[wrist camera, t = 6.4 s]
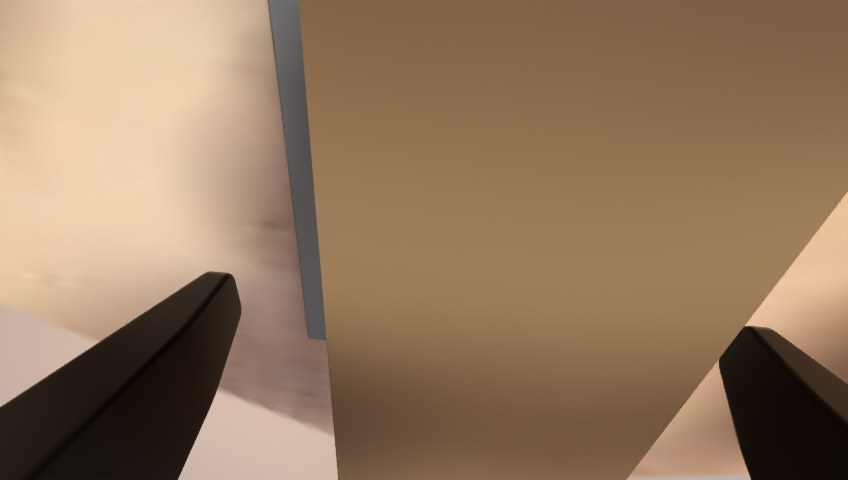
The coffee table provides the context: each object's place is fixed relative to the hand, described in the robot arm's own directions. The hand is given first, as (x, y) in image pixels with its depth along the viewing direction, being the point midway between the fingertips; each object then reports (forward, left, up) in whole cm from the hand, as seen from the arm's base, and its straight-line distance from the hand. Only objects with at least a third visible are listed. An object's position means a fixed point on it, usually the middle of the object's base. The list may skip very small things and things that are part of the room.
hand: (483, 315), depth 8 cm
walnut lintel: (0, 0, -2) cm, 2 cm away
